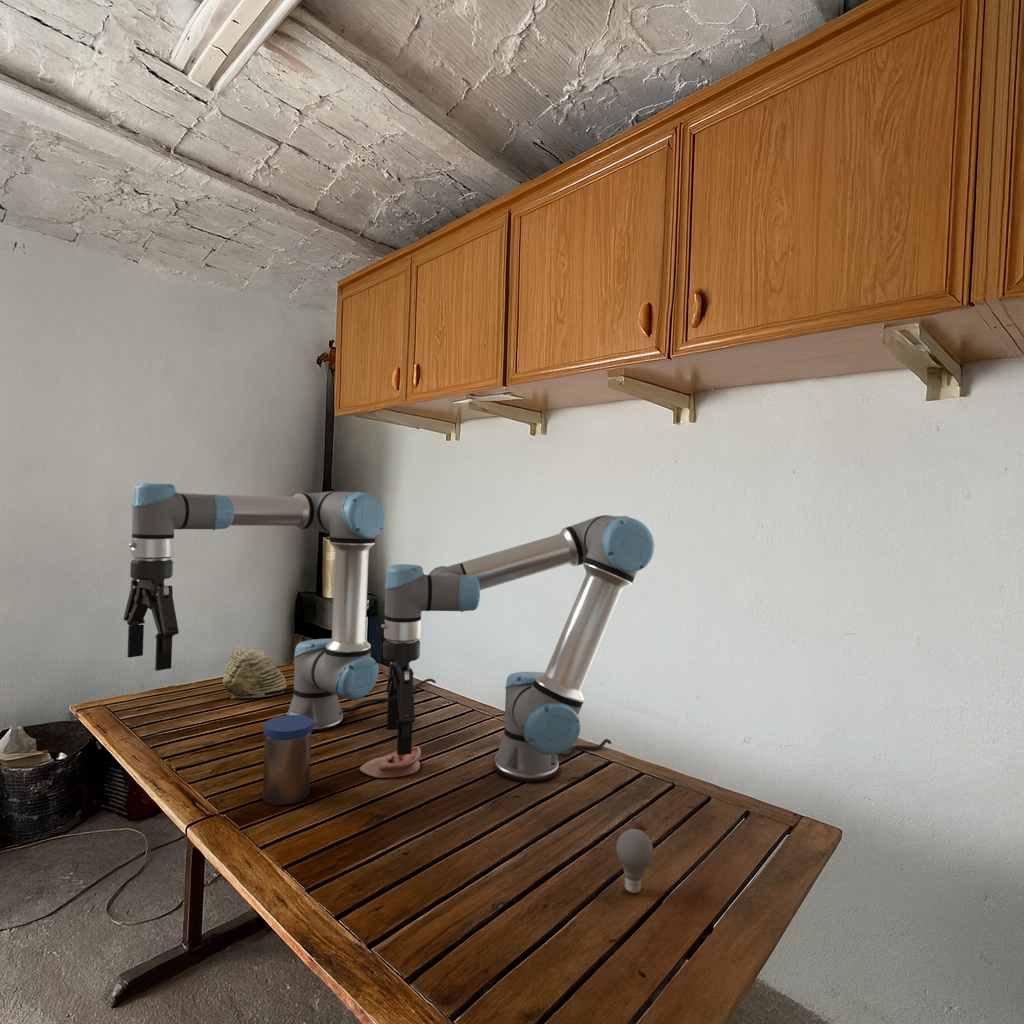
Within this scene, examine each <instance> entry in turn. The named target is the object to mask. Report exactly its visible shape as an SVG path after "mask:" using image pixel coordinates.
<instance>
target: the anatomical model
mask: <svg viewBox="0 0 1024 1024" xmlns="http://www.w3.org/2000/svg"><path fill="white" fill-rule="evenodd" d="M421 749H422V748H420V746H411V754H405V755H397V751H395V752H392V753H390V754H387V755H384V756H380V757H377V758H373V759H371V760H368V761H367V762H365V763H364V764H362V765H361V766H360V767H359V771H360V772H362V773H363V774H366V775H368V776H370V777H374V778H380V779H382V778H383V779H385V778H386V779H387V778H398V777H399V778H400V777H404V776H409V775H412V774H414V773H417V772H418V771H419V769H420V768H421V763H420V761H419V760H420V758H421V755H422V750H421Z"/></svg>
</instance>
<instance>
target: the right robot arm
mask: <svg viewBox="0 0 1024 1024" xmlns="http://www.w3.org/2000/svg"><path fill="white" fill-rule="evenodd" d="M651 532H652V531H651V530H650V528H649V527H648V526H647V525H646V524H645V523H644V522H642V521H640V520H639V519H636V518H633V517H630V516H627V515H620V516H618V515H609V514H608V515H607V514H604V515H597V516H595V517H592V518H589V519H586V520H583V521H581V522H579V523H575V524H573V525H570V526H567V527H562V528H561V530H560V532H559V533H557V534H554V535H551V536H547V537H544V538H540V539H537V540H534V541H530V542H526V543H523V544H519V545H516V546H512V547H509V548H507V549H506V548H505V549H503V550H499V551H496V552H492V553H489V554H485V555H483V556H479V557H475V558H471V559H469V560H465V561H461V562H459V563H456V564H455V563H454V564H452V565H448V566H445V565H440V566H437V567H434V568H433V569H432V570H430V571H429V573H428V574H425V573H424V569H423V567H422V565H419V564H410V563H400V564H392V565H390V566H389V567H388V568H387V569H386V573H385V574H386V576H385V586H384V623H382V624H381V629H382V630H383V637H384V641H383V645H382V646H383V647H382V658H383V659H384V660H386V661H388V662H389V668H388V675H387V682H386V689H385V691H386V693H387V695H386V696H387V697H386V698H390V699H388V700H387V709H386V711H387V712H386V713H387V714H386V730H387V731H392V730H397V736H396V737H397V738H396V739H397V740H396V752H397V755H405V754H411V747H412V741H413V739H412V738H413V723H416V717H415V716H416V715H415V714H416V713H415V698H414V697H415V694H414V692H413V687H414V670H413V668H411V667H410V663H411V662H413V661H414V662H415V661H417V660H418V659H420V655H421V641H420V640H419V639H420V638H422V636H421V634H422V612H460V613H463V612H471V611H476V610H477V609H478V607H479V605H480V599H481V591H483V590H487V589H489V588H490V589H491V588H493V587H496V586H500V585H503V584H507V583H510V582H513V581H516V580H519V579H522V578H526V577H529V576H533V575H536V574H539V573H540V574H541V573H543V572H546V571H549V570H552V569H557V568H558V567H562V566H563V567H564V566H566V565H570V566H572V567H578V566H581V565H583V568H584V570H585V576H584V578H583V581H582V583H581V585H580V587H579V591H578V592H577V595H576V598H575V600H574V601H573V605H572V607H571V610H570V612H569V614H568V617H567V619H566V621H565V623H564V627H563V628H562V632H561V634H560V636H559V639H558V641H557V643H556V646H555V649H554V650H553V653H552V655H551V658H550V660H549V662H548V664H547V667H546V670H545V671H544V672H541V671H517V672H513V673H510V674H508V676H507V677H506V683H505V686H504V687H505V699H504V700H505V703H504V724H503V726H504V727H503V729H504V730H503V737H502V740H501V743H500V745H499V748H498V750H497V752H496V753H495V757H494V768H495V771H496V772H497V774H499V775H500V776H502V777H504V778H505V779H508V780H512V781H515V782H522V783H540V782H545V781H548V780H551V779H552V778H555V777H556V776H557V775H558V773H559V767H560V765H559V764H560V763H559V758H558V757H568V756H570V755H571V754H572V752H573V751H574V750H589V751H594V750H599V749H601V748H603V747H604V746H605V745H606V744H608V745H611V744H612V741H611V739H609V738H605V739H603V740H602V742H601V743H600V744H598V745H582V744H580V745H579V744H578V745H575V744H576V742H577V740H578V738H579V737H580V733H581V721H580V717H579V714H580V712H581V709H582V706H583V704H584V701H585V698H584V696H583V695H584V694H583V693H582V688H583V685H584V683H585V680H586V678H587V675H588V673H589V671H590V668H591V666H592V663H593V661H594V658H595V656H596V654H597V651H598V649H599V646H600V644H601V642H602V639H603V637H604V635H605V632H606V629H607V627H608V624H609V622H610V620H611V617H612V615H613V612H614V610H615V608H616V605H617V603H618V600H619V598H620V596H621V593H622V591H623V590H624V589H625V588H627V587H629V586H632V584H633V582H634V580H635V578H636V575H637V574H638V572H639V571H642V570H643V569H645V568H646V567H647V566H648V565H649V563H650V562H651V560H652V559H653V556H654V552H655V539H654V537H653V535H652V534H653V533H651ZM397 698H398V699H397Z"/></svg>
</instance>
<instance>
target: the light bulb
mask: <svg viewBox="0 0 1024 1024" xmlns="http://www.w3.org/2000/svg"><path fill="white" fill-rule="evenodd" d="M615 849H616V854H617V857H618V859H619V861H620V863H621V865H622V867H623V873H624V874H623V875H624V876H625V878H624V888H625V890H627V891H628V892H630V893H634V894H635V893H639V892H640V891H641V889H642V887H641V886H642V879H643V877H644V875H645V871H646V868H647V867H648V866H649V864H650V863H651V861H652V859H653V855H654V847H653V843H652V841H651V838H649V836H648V835H647V834H646V833H645V832H643V831H642V830H641V829H636V828H629V829H627V830H625V831H623V832H622V833H621V834H620V835H619V837H618V839H617V841H616V847H615Z"/></svg>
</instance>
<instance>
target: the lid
mask: <svg viewBox="0 0 1024 1024" xmlns="http://www.w3.org/2000/svg"><path fill="white" fill-rule="evenodd" d="M262 729H263V730H262V731H263V735H264V737H265V736H266V737H268V738H271V739H277V740H289V739H296V738H300V737H304V736H306V735H308V734H310V733H311V734H312V733H313V732H312V731H313V719H311V718H310V717H307V716H302V715H287V714H285V715H279V716H275V717H272V718H269V719H268V720H266V721H265V722H264V723H263V728H262Z"/></svg>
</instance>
